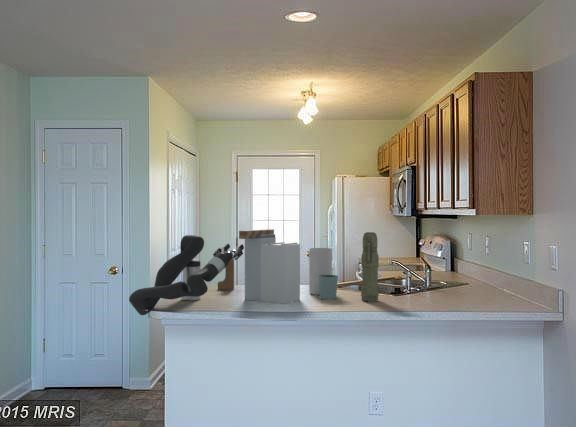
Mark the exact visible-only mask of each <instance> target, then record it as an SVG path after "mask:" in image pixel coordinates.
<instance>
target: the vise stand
mask: <svg viewBox="0 0 576 427" xmlns="http://www.w3.org/2000/svg"><path fill="white" fill-rule="evenodd" d="M276 241H277V240H276V234H275V233H274V234H270V235H257V238H253V239H244V300H248V301H256V302H264V303H265V302H267V303H274V304H275V303H276V304H289V303H290V304H291V303H294V302H297V301H300V300H301V244H300V243H298V242H290V243H289V242H287V243H286V242H285V241H284V242H276Z"/></svg>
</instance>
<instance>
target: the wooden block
mask: <svg viewBox="0 0 576 427" xmlns="http://www.w3.org/2000/svg"><path fill="white" fill-rule="evenodd" d="M224 269H225V274H224V275H225V277H224V279H223V280H219V281H218V282H217V291H233V290H234V289H235V259H234V258H232V259H231V260H230V261H229V264H228V265H227V266H226V267H225V268H224Z"/></svg>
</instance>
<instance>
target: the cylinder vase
mask: <svg viewBox="0 0 576 427" xmlns="http://www.w3.org/2000/svg"><path fill="white" fill-rule="evenodd" d="M308 258H309V260H308V261H309V262H308V265H309V267H308V270H309V274H308V276H309V278H308V280H309V282H308V283H309V284H308V285H309V286H308V287H309V294H310V295H314V296H320V290H319V275H333V249H332V248H331V247H311V248H309V257H308Z"/></svg>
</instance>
